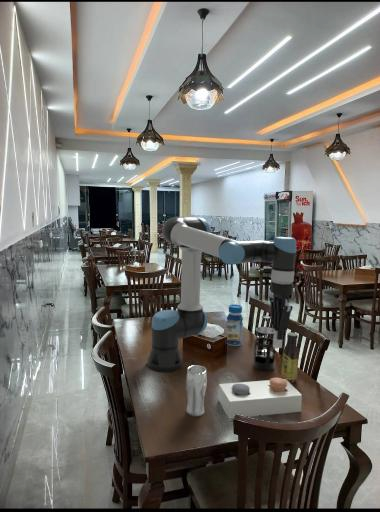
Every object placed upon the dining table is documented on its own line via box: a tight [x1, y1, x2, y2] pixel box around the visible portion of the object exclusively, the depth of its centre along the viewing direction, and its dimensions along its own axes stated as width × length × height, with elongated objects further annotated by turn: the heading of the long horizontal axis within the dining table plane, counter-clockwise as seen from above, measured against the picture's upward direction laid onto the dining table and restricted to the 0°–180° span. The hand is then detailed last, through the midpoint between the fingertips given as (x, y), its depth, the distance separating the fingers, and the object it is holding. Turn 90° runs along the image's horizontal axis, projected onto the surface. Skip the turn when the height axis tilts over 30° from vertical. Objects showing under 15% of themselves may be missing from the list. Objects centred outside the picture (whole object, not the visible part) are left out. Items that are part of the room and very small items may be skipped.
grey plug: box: [232, 384, 250, 396], centre depth 124 cm, size 6×6×6 cm
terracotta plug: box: [269, 377, 287, 392], centre depth 127 cm, size 6×6×6 cm
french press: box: [252, 315, 276, 372], centre depth 157 cm, size 12×9×23 cm
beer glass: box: [185, 364, 208, 417], centre depth 121 cm, size 7×7×15 cm
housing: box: [217, 379, 303, 419], centre depth 126 cm, size 26×12×6 cm, turn 102°
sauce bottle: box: [280, 331, 300, 384], centre depth 145 cm, size 6×6×20 cm
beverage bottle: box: [225, 303, 244, 347], centre depth 184 cm, size 8×8×20 cm
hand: (277, 347), depth 127 cm, fingers closed
